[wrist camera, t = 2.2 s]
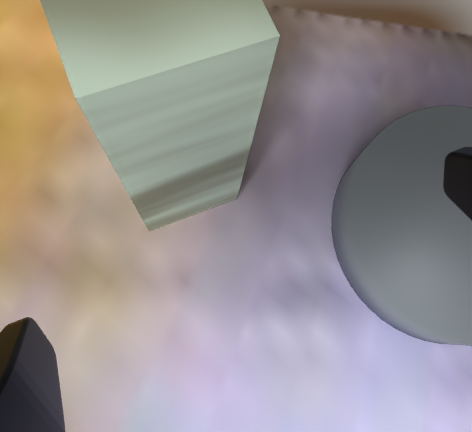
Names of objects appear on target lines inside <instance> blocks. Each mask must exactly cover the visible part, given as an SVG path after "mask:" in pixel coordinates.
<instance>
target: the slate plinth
mask: <svg viewBox="0 0 472 432" xmlns="http://www.w3.org/2000/svg"><path fill="white" fill-rule="evenodd" d="M462 147H472V108H471V107H463V106H436V107H430V108H424V109H421V110H418V111H414V112H411V113H409V114H407V115H405V116H403V117H400V118H399V119H397V120H396V121H394V122H393V123H391V124H389V125H388V126H387V127H386V128H385V129H383V130H382V131H381V132H380V133H379V134H378V135H377V136H376V137H375V138H374V139H373V140H372V141H371V143H370V144H369V145H368V146H367V147H366V148H365V149H364V150H363V151H362V152H361V154H360V155H359V156H358V157H357V158H356V159H355V160H354V162H353V163H352V164H351V165H350V166H349V167H348V169H347V171H346V172H345V174H344V176H343V177H342V179H341V181H340V184H339V186H338V188H337V191H336V195H335V198H334V202H333V209H332V236H333V243H334V247H335V251H336V255H337V258H338V261H339V263H340V266H341V268H342V271H343V273H344V275H345V276H346V278H347V280H348V282H349V284H350V285H351V287H352V288H353V290H354V291H355V292H356V294H357V295H358V296H359V298H360V299H361V300H362V301H363V302H364V303H365V304H366V306H367V307H368V308H369V309H370V310H371V311H372V312H374V313H375V314H376V315H377V316H378V317H380V318H381V319H382V320H383V321H385V322H386V323H388V324H389V325H391V326H392V327H394V328H395V329H397V330H399V331H401V332H403V333H406V334H408V335H410V336H412V337H415V338H418V339H421V340H424V341H429V342H434V343H439V344H455V345H470V346H472V221H471V220H470V219H469V218H468V217H467V216H466V215H465V214H464V213H463V212H462V211H461V210H460V209H459V208H458V207H457V206H456V205H455V204H454V203H453V202H452V201H451V200H450V199H449V198H448V197H447V196H446V194H445V192H444V189H443V177H444V161H445V157H446V155H447V154H448V153H450V152H452V151H455V150H457V149H460V148H462Z"/></svg>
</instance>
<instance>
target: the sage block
mask: <svg viewBox="0 0 472 432" xmlns="http://www.w3.org/2000/svg"><path fill="white" fill-rule="evenodd" d="M40 1H41V3H42V6H43V9H44V12H45V15H46V17H47V20H48V23H49V26H50V29H51V31H52V34H53V37H54V40H55V43H56V45H57V48H58V51H59V54H60V57H61V59H62V62H63V65H64V68H65V70H66V73H67V76H68V79H69V82H70V84H71V87H72V90H73V93H74V96H75V98H76V100H77V102H78V104H79V106H80V108H81V109H82V111H83V113H84V115H85V117H86V118H87V120H88V122H89V124H90V126H91V127H92V129H93V131H94V133H95V135H96V136H97V138H98V140H99V142H100V144H101V145H102V147H103V149H104V151H105V153H106V154H107V156H108V158H109V160H110V162H111V163H112V165H113V167H114V169H115V171H116V172H117V174H118V176H119V178H120V180H121V181H122V183H123V185H124V187H125V189H126V190H127V192H128V194H129V196H130V198H131V200H132V201H133V203H134V205H135V207H136V209H137V210H138V212H139V214H140V216H141V218H142V219H143V221H144V223H145V225H146V227H147V228H148V230H149V231H152V230H154V229H157V228H160V227H162V226H165V225H168V224H170V223H173V222H176V221H178V220H181V219H184V218H186V217H189V216H192V215H194V214H197V213H200V212H202V211H205V210H208V209H210V208H213V207H216V206H218V205H221V204H224V203H226V202H229V201H232V200H234V199H237V197H238V193H239V190H240V186H241V182H242V178H243V174H244V171H245V167H246V163H247V159H248V155H249V152H250V148H251V144H252V140H253V136H254V133H255V129H256V125H257V121H258V117H259V114H260V110H261V106H262V102H263V98H264V95H265V91H266V87H267V83H268V79H269V76H270V72H271V68H272V64H273V61H274V57H275V53H276V49H277V45H278V42H279V38H280V35H279V33H278V31H277V29H276V27H275V25H274V23H273V21H272V19H271V17H270V15H269V13H268V11H267V9H266V7H265V5H264V3H263V1H262V0H40Z"/></svg>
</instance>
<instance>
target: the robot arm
mask: <svg viewBox="0 0 472 432" xmlns="http://www.w3.org/2000/svg"><path fill="white" fill-rule="evenodd" d="M443 189H444V192H445V194H446V196H447V197H448V198H449V199H450V200H451V201H452V202H453V203H454V204H455V205H456V206H457V207H458V208H459V209H460V210H461V211H462V212H463V213H464V214H465V215H466V216H467V217H468V218H469V219H470V220H471V221H472V147H462V148H460V149H457V150H455V151H452V152H450V153H448V154H447V155H446V157H445V161H444V177H443ZM0 432H65V423H64V414H63V407H62V399H61V391H60V383H59V376H58V368H57V360H56V355H55V351H54V349H53V347H52V345H51V343H50V342H49V340H48V339H47V338H46V336H45V335H44V333H43V332H42V330H41V329H40V327H39V326H38V325H37V323H36V322H35V321H34V320H33V319H32V318H29V317H26V318H23V319H21V320H18V321H16V322H13V323H11V324H8V325H7V326H5V328H4V329H3V330H2V331H1V332H0Z"/></svg>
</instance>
